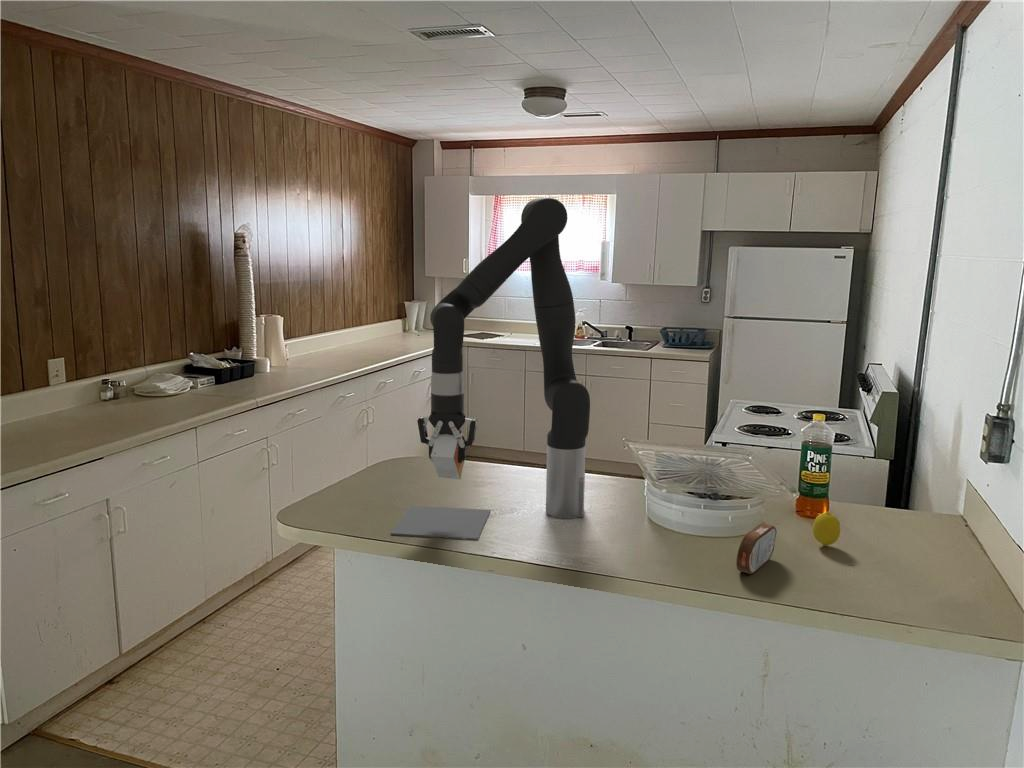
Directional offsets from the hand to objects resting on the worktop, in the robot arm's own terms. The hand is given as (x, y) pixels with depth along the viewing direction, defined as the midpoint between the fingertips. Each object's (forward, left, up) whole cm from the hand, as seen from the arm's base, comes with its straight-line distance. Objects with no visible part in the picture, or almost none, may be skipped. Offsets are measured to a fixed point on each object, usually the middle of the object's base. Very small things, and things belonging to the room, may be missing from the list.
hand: (447, 461), depth 177 cm
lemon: (-85, +2, -15) cm, 86 cm away
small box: (0, -6, -3) cm, 6 cm away
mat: (+1, +1, -15) cm, 15 cm away
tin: (-68, +15, -15) cm, 71 cm away
